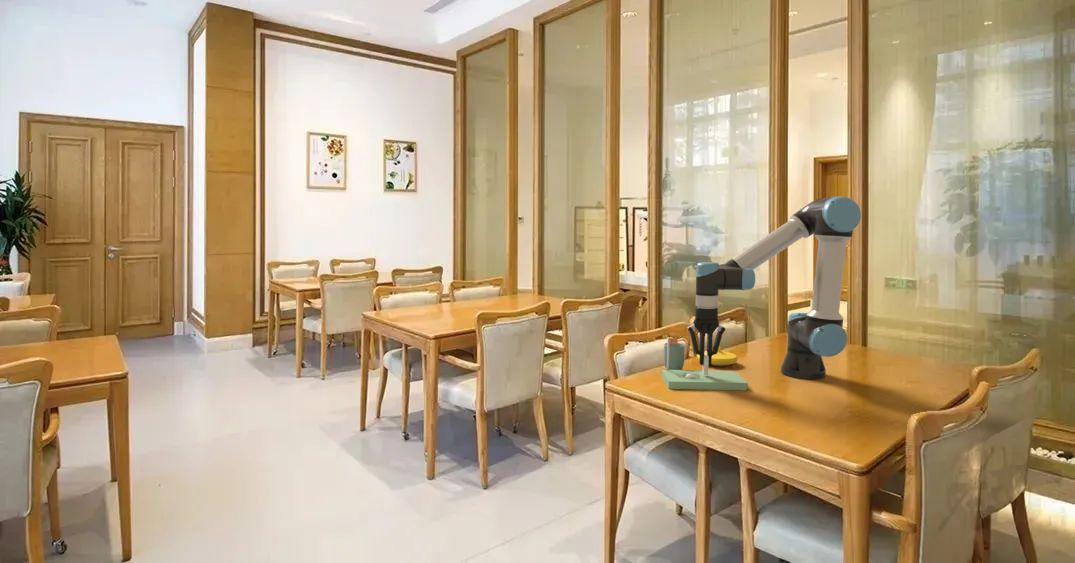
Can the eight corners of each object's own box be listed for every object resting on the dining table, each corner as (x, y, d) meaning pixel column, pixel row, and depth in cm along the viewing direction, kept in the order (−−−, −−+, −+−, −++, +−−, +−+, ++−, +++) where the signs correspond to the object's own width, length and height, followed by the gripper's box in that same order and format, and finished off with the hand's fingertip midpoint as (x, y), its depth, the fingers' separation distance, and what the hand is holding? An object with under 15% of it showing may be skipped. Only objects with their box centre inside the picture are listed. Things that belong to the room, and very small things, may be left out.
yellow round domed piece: (743, 369, 230) (744, 351, 229) (702, 368, 230) (702, 350, 230) (730, 359, 246) (731, 342, 245) (692, 359, 246) (692, 342, 245)
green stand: (734, 377, 217) (735, 338, 216) (746, 390, 201) (748, 347, 200) (661, 376, 218) (662, 337, 217) (668, 388, 203) (669, 346, 201)
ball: (689, 370, 211) (682, 376, 212) (691, 373, 208) (683, 378, 208) (695, 378, 211) (687, 383, 212) (697, 380, 208) (689, 385, 209)
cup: (684, 373, 223) (685, 347, 221) (663, 372, 224) (664, 346, 223) (684, 368, 230) (684, 342, 229) (663, 367, 232) (664, 342, 231)
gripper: (723, 305, 210) (721, 371, 213) (685, 305, 211) (684, 371, 214) (728, 308, 203) (726, 376, 205) (689, 308, 204) (688, 376, 206)
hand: (705, 373), depth 209 cm, fingers closed
